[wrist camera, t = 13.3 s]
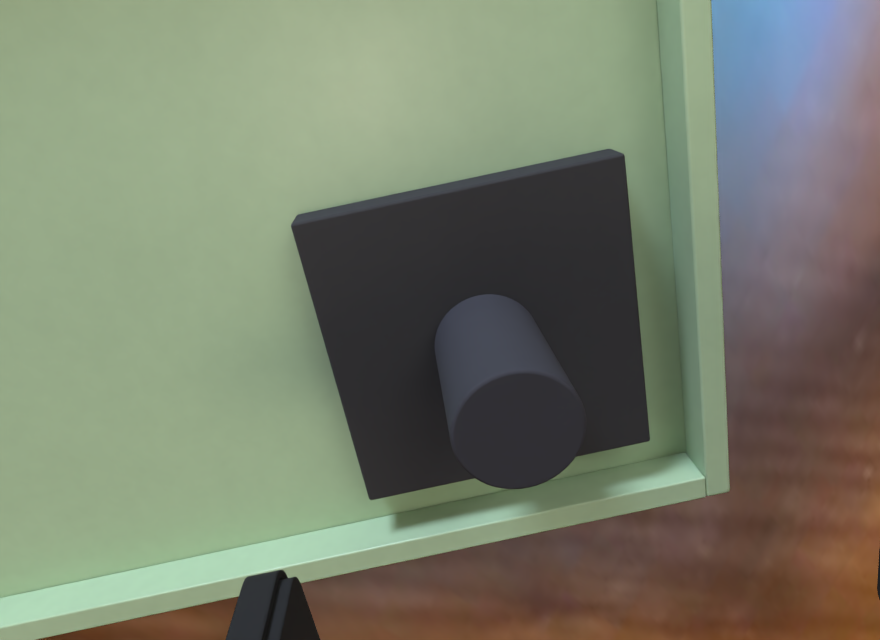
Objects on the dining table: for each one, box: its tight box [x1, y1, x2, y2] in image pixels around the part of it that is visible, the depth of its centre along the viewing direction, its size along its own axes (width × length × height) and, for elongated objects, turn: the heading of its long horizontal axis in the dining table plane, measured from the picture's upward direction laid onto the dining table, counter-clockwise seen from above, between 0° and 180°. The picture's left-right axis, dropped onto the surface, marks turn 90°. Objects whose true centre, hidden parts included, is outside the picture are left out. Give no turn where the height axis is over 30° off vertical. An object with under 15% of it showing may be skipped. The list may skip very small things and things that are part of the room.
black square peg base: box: [291, 149, 650, 500], centre depth 17 cm, size 9×9×6 cm
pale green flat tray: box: [0, 0, 730, 640], centre depth 18 cm, size 28×24×2 cm
